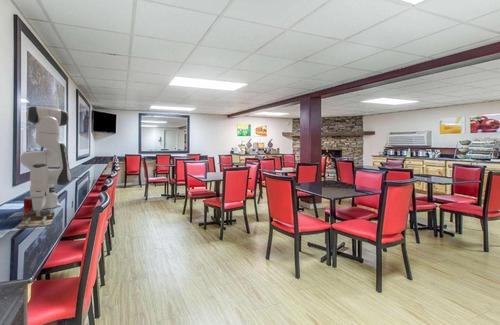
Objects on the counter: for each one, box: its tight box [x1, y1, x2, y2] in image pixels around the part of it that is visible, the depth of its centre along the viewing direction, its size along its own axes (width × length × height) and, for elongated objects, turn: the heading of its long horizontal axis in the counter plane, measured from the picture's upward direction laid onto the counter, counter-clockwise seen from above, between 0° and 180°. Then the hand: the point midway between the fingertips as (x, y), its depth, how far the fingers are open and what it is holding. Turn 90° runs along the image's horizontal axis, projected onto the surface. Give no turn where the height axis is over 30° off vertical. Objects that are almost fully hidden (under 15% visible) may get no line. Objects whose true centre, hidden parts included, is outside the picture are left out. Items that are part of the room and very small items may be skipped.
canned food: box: [23, 195, 33, 215], centre depth 171 cm, size 8×8×11 cm
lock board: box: [17, 210, 56, 230], centre depth 156 cm, size 24×14×4 cm, turn 31°
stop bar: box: [28, 208, 51, 217], centre depth 161 cm, size 10×3×4 cm, turn 121°
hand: (39, 215), depth 161 cm, fingers open, 8 cm apart
